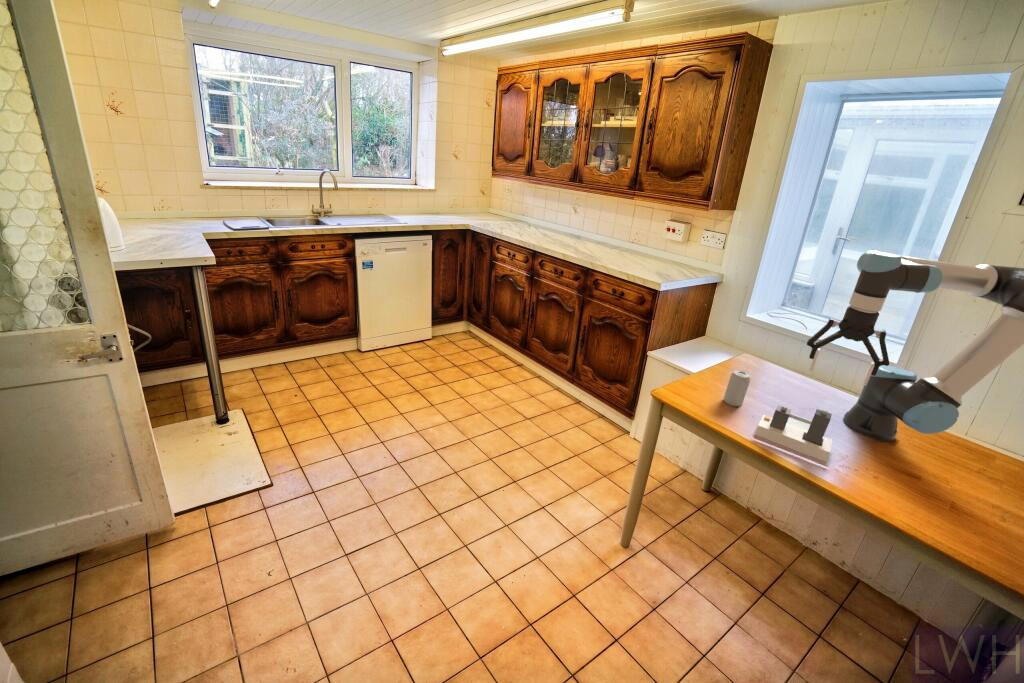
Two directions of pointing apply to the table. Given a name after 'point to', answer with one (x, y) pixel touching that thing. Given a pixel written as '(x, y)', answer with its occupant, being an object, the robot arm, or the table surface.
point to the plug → (818, 426)
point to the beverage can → (737, 388)
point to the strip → (791, 435)
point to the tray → (799, 421)
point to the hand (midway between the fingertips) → (837, 376)
